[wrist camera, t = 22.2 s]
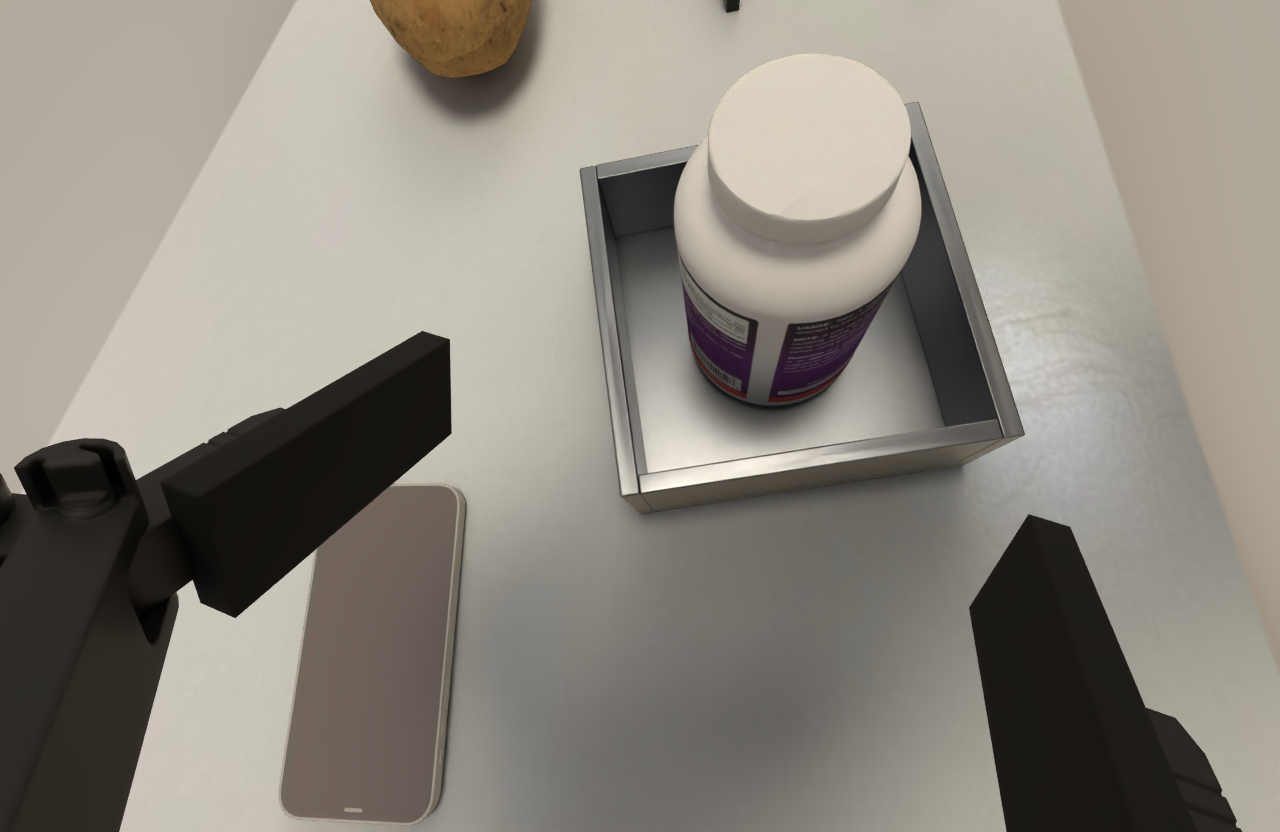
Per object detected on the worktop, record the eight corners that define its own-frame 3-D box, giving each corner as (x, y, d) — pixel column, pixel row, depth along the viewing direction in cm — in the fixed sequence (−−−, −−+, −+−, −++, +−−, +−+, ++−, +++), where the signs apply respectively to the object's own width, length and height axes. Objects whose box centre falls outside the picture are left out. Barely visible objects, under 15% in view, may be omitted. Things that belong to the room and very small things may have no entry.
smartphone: (462, 483, 31) (431, 827, 27) (469, 486, 32) (440, 820, 28) (324, 484, 32) (273, 818, 28) (334, 487, 33) (287, 811, 28)
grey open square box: (884, 184, 33) (918, 100, 28) (965, 464, 29) (1025, 434, 23) (602, 237, 35) (579, 168, 29) (638, 514, 30) (620, 497, 25)
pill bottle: (861, 271, 31) (975, 21, 17) (842, 424, 29) (955, 279, 15) (702, 253, 32) (691, 8, 19) (674, 398, 31) (640, 243, 17)
